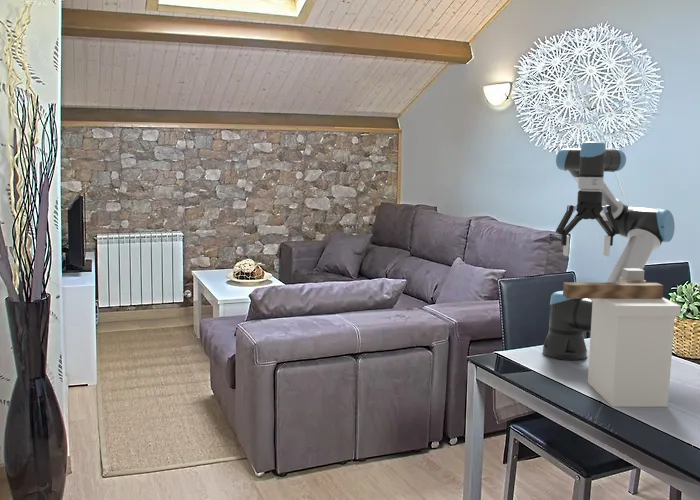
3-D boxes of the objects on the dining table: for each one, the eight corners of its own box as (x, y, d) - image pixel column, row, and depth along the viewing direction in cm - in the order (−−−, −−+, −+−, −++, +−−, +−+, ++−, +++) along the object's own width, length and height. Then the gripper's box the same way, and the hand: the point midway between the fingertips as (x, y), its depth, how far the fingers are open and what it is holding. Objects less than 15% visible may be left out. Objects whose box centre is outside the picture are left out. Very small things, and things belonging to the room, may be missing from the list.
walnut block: (567, 298, 198) (567, 285, 198) (562, 295, 202) (563, 282, 202) (662, 298, 199) (663, 285, 198) (656, 295, 202) (657, 282, 202)
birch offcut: (625, 293, 205) (626, 280, 205) (618, 290, 210) (619, 277, 210) (645, 293, 205) (646, 280, 205) (638, 290, 210) (639, 277, 210)
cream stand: (610, 408, 194) (616, 305, 189) (583, 381, 216) (588, 289, 211) (672, 408, 194) (680, 306, 190) (639, 381, 216) (646, 289, 211)
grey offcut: (627, 280, 205) (628, 270, 205) (622, 277, 209) (622, 268, 209) (643, 280, 205) (644, 270, 205) (638, 277, 209) (638, 268, 209)
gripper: (556, 190, 214) (552, 257, 217) (633, 191, 215) (628, 257, 218) (548, 189, 221) (544, 253, 224) (622, 190, 223) (618, 254, 226)
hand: (586, 255), depth 221 cm, fingers open, 13 cm apart
